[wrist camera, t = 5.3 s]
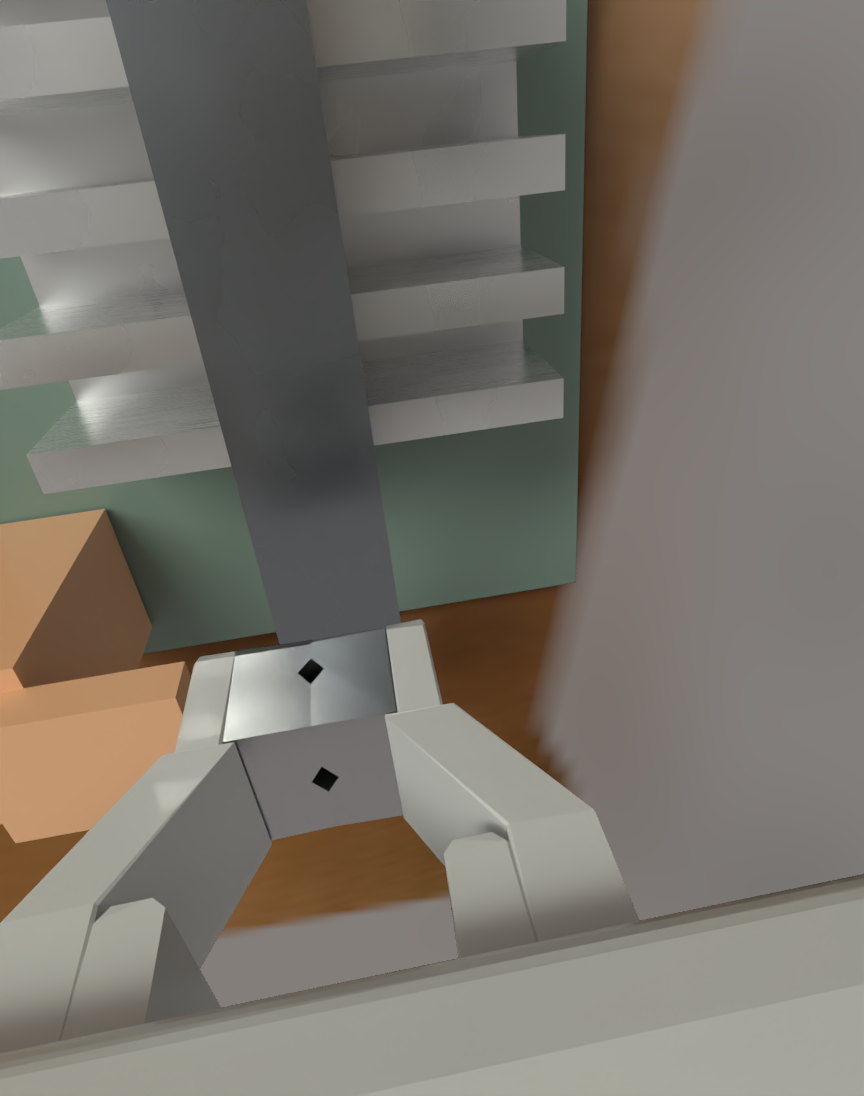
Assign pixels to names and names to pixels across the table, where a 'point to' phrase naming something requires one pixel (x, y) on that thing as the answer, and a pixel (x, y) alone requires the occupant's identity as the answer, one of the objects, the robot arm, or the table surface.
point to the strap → (267, 293)
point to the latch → (75, 677)
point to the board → (403, 467)
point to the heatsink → (364, 213)
